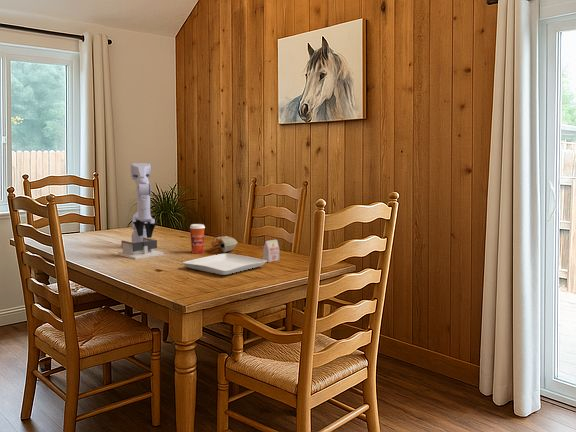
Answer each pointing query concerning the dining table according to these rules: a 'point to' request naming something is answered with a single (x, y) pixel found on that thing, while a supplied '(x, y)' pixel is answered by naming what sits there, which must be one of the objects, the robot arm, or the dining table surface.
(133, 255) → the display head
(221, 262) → the square plate
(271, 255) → the milk carton
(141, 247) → the glasses
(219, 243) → the nautilus
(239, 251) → the dining table surface
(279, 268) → the dining table surface
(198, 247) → the paper cup
